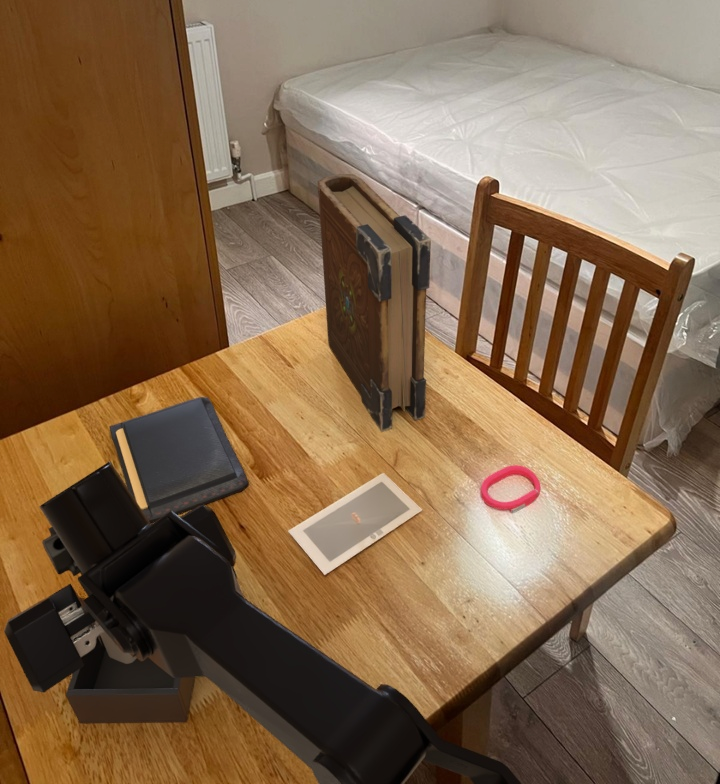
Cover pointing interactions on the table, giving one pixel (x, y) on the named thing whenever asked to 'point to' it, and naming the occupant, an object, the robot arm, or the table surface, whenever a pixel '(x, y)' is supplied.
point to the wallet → (177, 458)
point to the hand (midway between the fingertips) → (114, 586)
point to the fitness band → (517, 503)
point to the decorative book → (375, 296)
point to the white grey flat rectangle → (354, 522)
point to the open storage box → (127, 692)
